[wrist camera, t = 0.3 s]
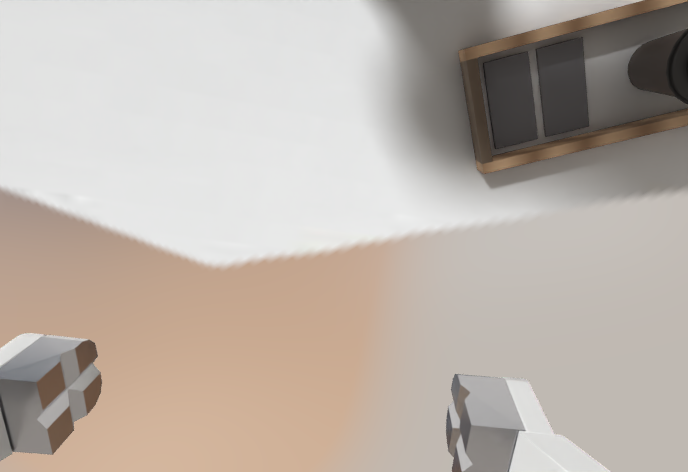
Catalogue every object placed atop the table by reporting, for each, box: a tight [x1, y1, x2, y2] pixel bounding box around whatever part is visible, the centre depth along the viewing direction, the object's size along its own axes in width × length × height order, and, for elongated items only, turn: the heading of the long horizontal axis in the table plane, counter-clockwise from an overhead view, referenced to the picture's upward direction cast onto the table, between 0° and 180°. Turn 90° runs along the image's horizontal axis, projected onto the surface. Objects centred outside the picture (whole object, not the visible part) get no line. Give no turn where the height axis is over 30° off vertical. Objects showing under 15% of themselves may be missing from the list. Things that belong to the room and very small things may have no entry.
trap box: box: [458, 0, 688, 174], centre depth 49 cm, size 36×14×4 cm, turn 104°
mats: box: [483, 37, 589, 149], centre depth 51 cm, size 11×10×1 cm
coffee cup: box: [628, 29, 688, 104], centre depth 46 cm, size 8×8×10 cm
